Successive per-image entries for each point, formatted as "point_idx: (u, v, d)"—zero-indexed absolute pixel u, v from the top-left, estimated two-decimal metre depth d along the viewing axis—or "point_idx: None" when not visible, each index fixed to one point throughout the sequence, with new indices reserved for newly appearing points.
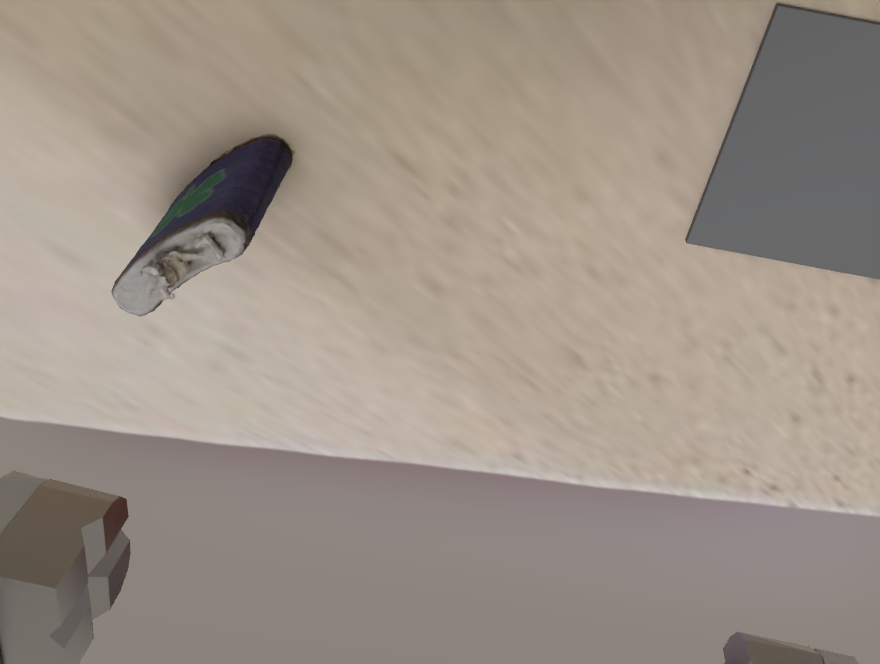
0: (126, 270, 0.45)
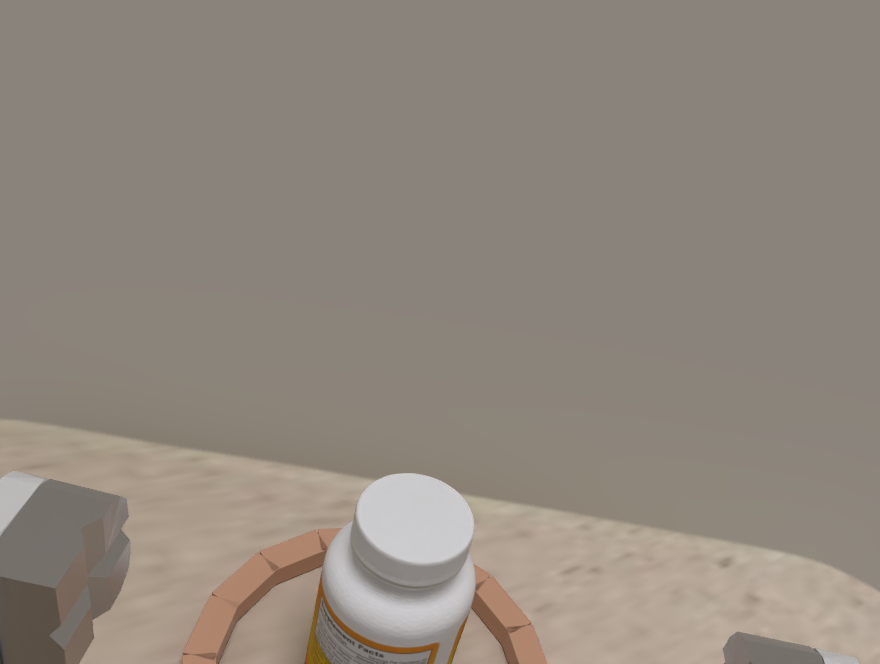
0: None
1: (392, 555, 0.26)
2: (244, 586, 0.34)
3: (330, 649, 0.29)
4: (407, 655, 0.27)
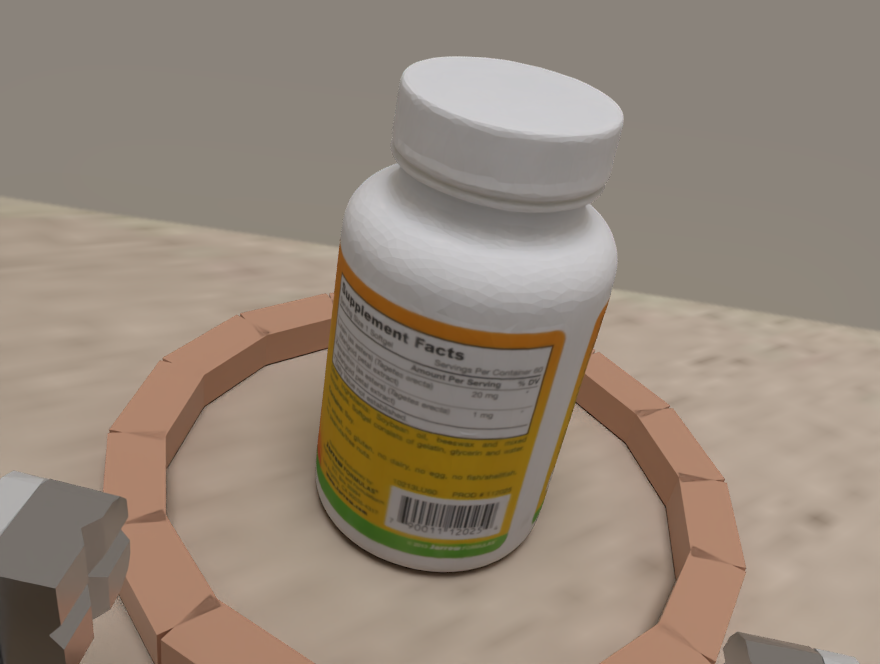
0: None
1: (480, 123, 0.13)
2: (215, 352, 0.21)
3: (362, 371, 0.16)
4: (509, 355, 0.15)
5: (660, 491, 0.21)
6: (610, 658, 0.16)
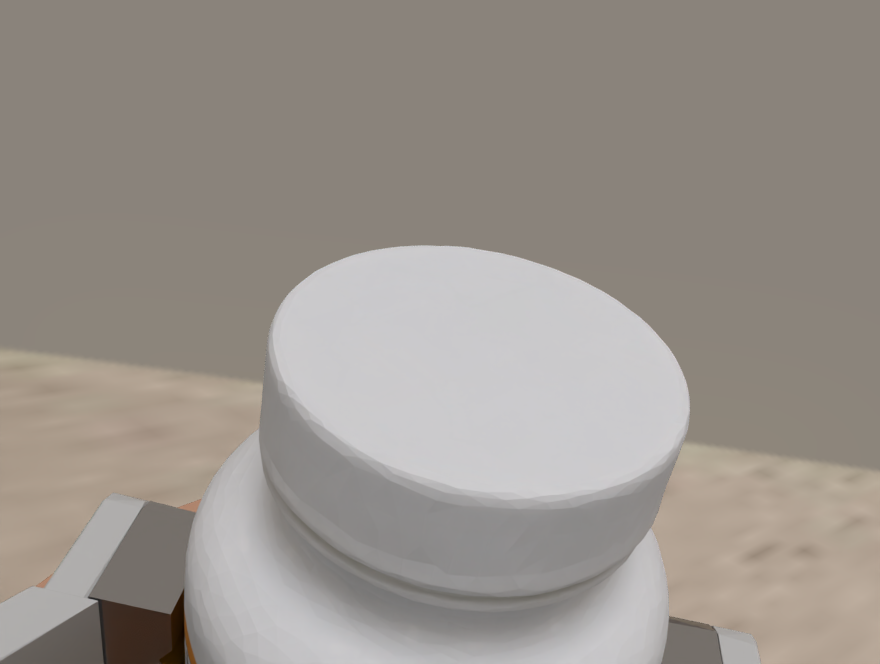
0: None
1: (405, 473, 0.06)
2: None
3: None
4: None
5: None
6: None
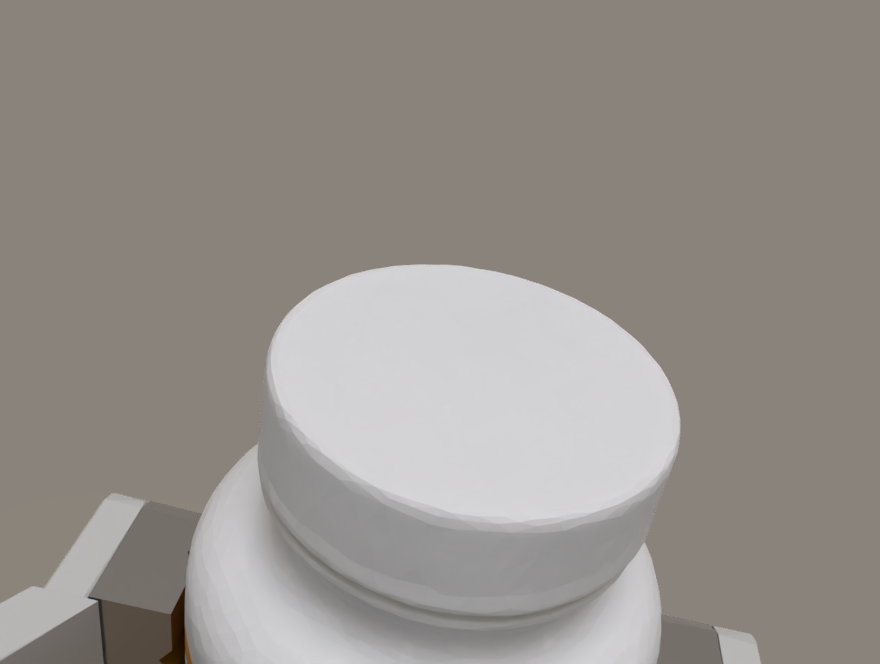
0: None
1: (400, 497, 0.06)
2: None
3: None
4: None
5: None
6: None
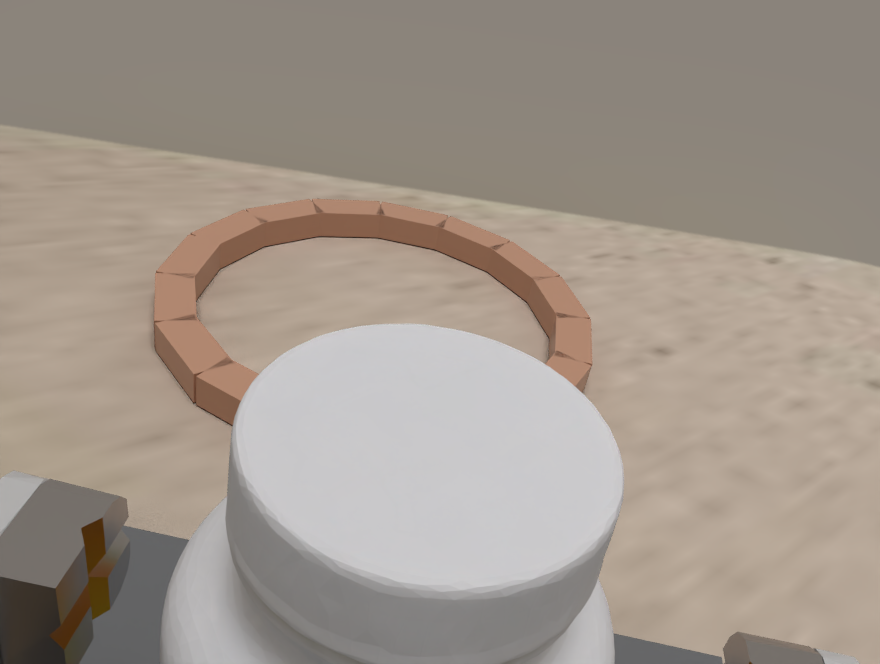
0: None
1: (351, 566, 0.07)
2: (228, 231, 0.30)
3: None
4: None
5: (546, 329, 0.29)
6: None
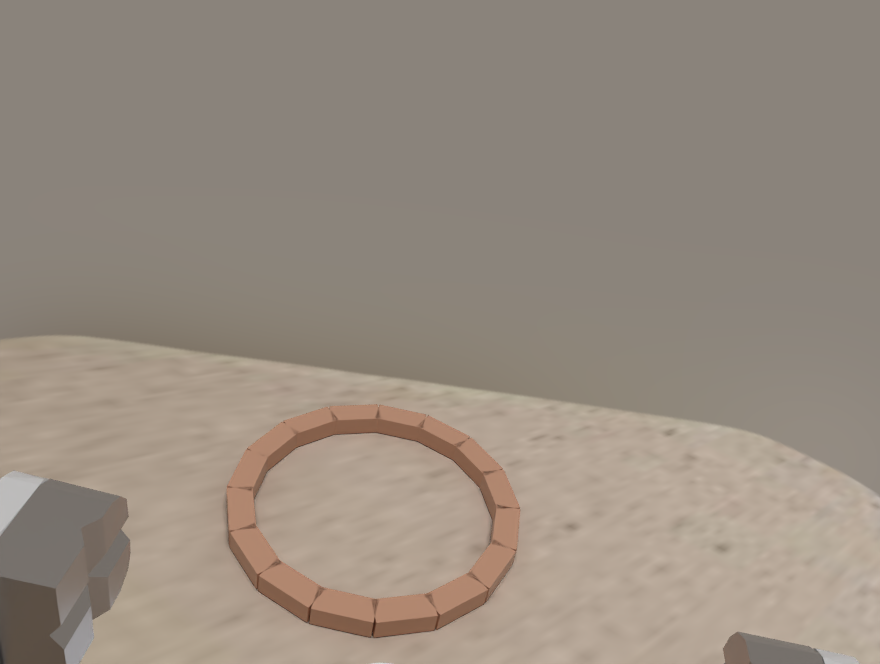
0: None
1: None
2: (272, 444, 0.43)
3: None
4: None
5: (491, 512, 0.43)
6: (443, 586, 0.37)
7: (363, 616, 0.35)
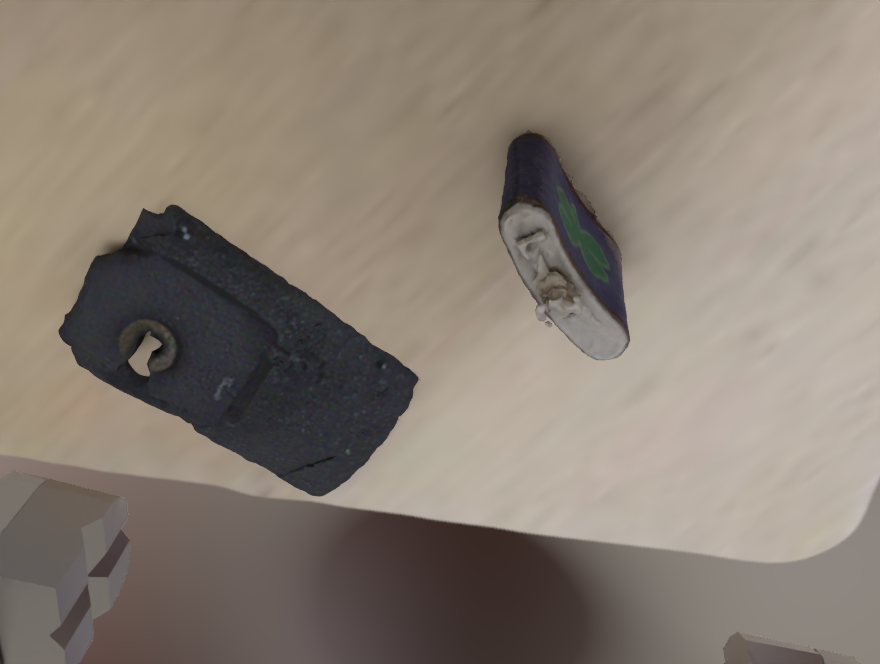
0: (567, 336, 0.41)
1: None
2: None
3: None
4: None
5: None
6: None
7: None
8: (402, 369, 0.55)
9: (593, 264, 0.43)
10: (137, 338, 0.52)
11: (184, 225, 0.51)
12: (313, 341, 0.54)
